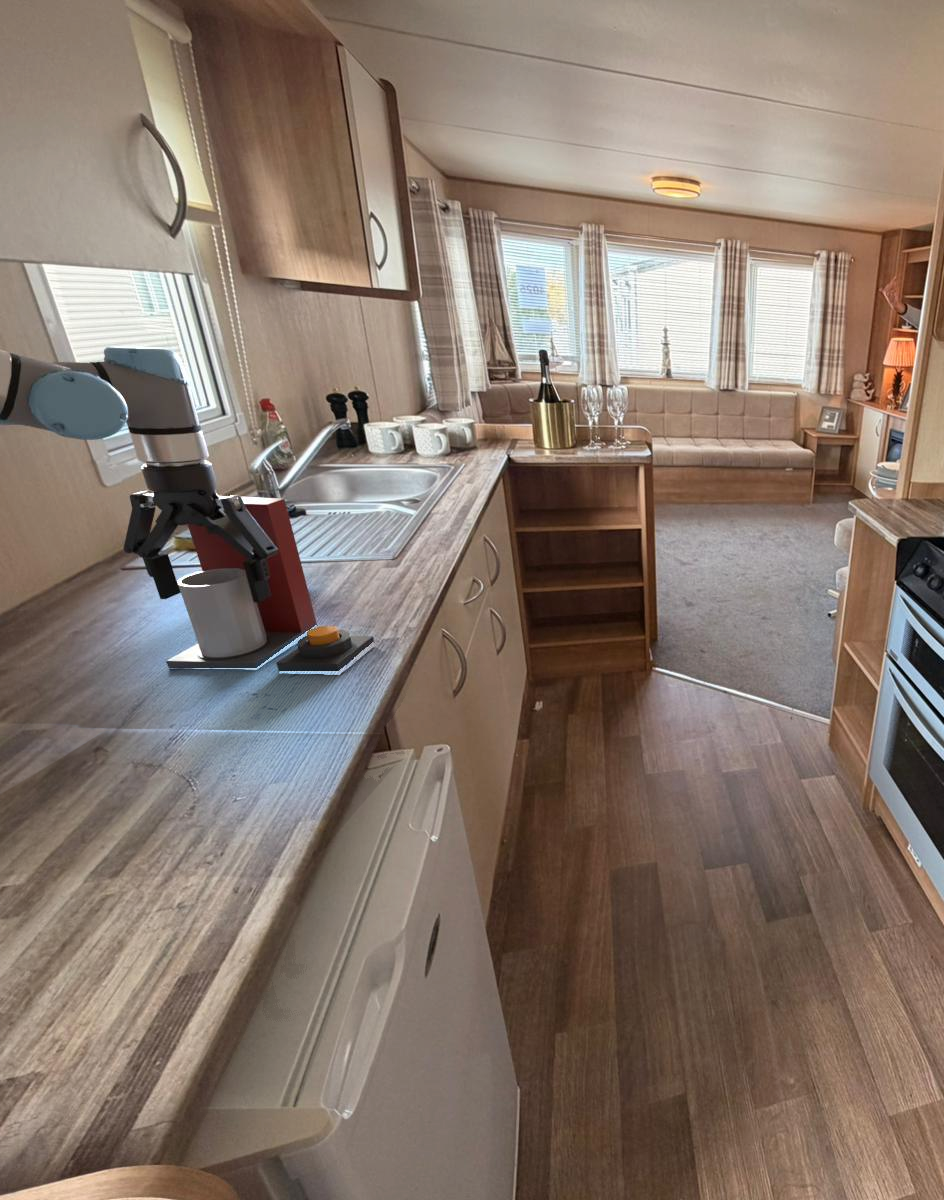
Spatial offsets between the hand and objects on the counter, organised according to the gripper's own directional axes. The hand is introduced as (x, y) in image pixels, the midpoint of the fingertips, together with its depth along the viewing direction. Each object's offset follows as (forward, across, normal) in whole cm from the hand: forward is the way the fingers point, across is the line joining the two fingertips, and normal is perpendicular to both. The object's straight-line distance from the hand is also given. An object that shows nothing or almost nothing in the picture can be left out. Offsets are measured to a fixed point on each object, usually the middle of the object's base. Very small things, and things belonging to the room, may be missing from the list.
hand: (217, 597), depth 100 cm
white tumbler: (+9, 0, 0) cm, 9 cm away
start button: (+7, -15, +1) cm, 17 cm away
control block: (+10, -15, +1) cm, 18 cm away
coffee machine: (+10, 0, -3) cm, 11 cm away
